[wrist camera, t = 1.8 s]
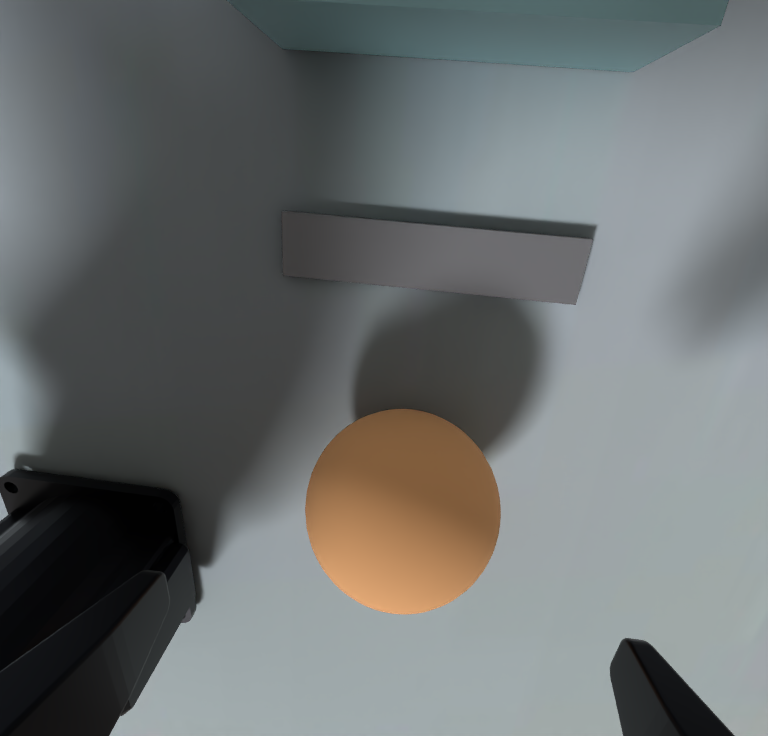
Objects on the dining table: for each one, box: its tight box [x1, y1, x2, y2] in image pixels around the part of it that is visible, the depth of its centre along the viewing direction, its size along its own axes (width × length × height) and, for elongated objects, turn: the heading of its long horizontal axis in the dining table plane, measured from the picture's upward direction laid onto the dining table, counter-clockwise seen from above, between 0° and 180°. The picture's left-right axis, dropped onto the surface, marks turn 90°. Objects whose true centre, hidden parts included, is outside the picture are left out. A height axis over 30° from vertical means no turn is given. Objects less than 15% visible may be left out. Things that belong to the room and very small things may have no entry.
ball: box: [305, 409, 501, 614], centre depth 11 cm, size 5×5×5 cm
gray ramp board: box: [282, 211, 593, 305], centre depth 11 cm, size 8×2×1 cm, turn 86°
